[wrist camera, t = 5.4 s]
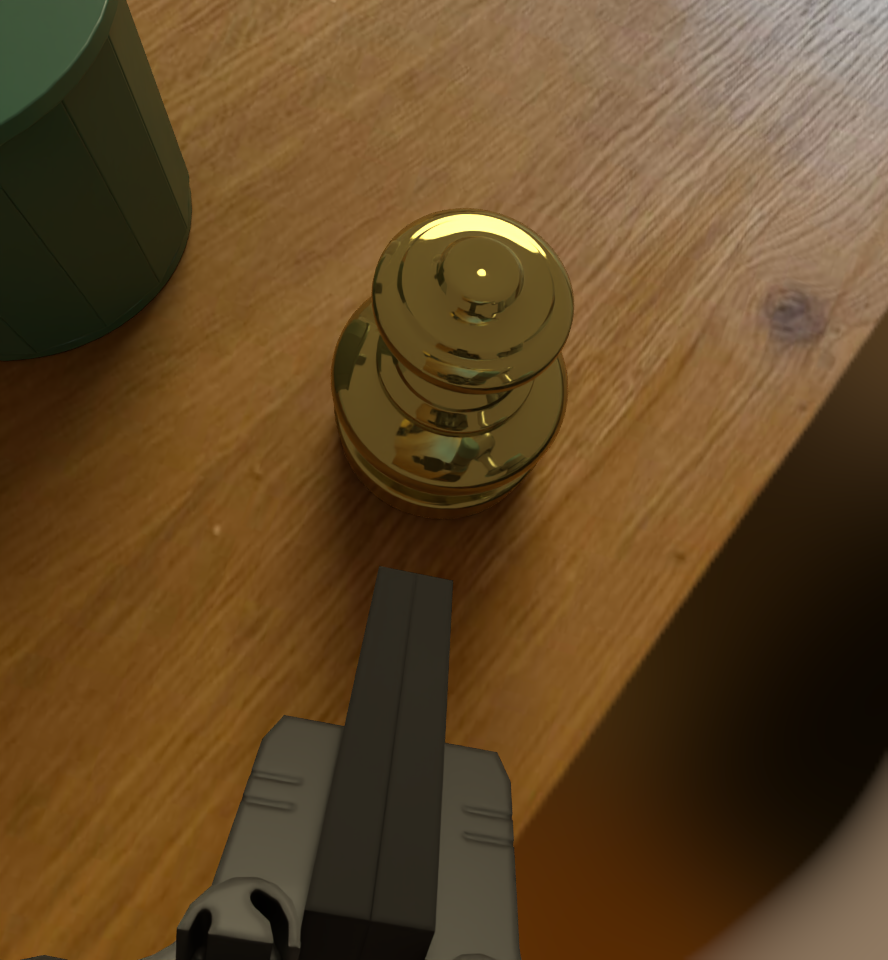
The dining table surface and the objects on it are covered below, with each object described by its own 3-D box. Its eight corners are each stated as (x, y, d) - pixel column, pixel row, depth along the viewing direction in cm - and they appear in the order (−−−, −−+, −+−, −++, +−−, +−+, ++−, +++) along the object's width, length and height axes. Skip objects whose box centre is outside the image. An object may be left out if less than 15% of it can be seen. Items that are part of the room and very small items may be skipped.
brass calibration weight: (473, 562, 23) (545, 486, 14) (296, 451, 24) (246, 303, 14) (571, 400, 26) (692, 237, 16) (406, 300, 26) (428, 84, 16)
